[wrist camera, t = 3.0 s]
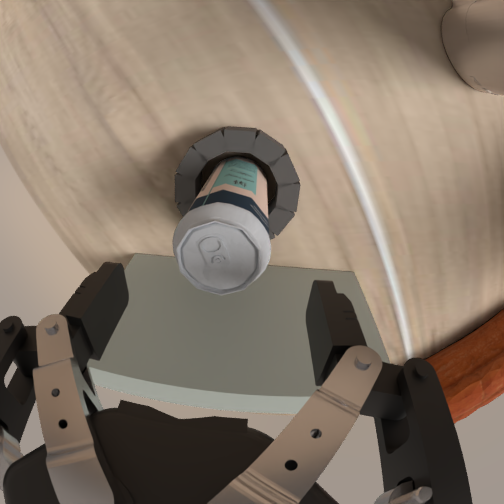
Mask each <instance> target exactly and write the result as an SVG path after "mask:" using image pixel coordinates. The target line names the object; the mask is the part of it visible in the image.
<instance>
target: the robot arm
mask: <svg viewBox="0 0 504 504" xmlns="http://www.w3.org/2000/svg"><path fill="white" fill-rule="evenodd" d="M452 3H453V5H452V8H451V9H450V10H449V11H447V12H446V14H445V15H444V17H443V21H442V38H443V43H444V46H445V50H446V53H447V55H448V57H449V59H450V61H451V63H452V65H453V66H454V68H455V70H456V71H457V73H458V74H459V75H460V76H461V78H462V79H463V80H464V81H465V82H466V83H467V84H468V85H470V86H471V87H473V88H474V89H476V90H478V91H481V92H486V93H491V94H495V95H504V0H452ZM128 301H129V291H128V287H127V282H126V277H125V272H124V268H123V265H122V264H121V263H112V262H105V263H103V265H102V266H101V267H100V269H99V270H98V271H97V272H94V273H92V274H91V275H89V276H88V277H86V278H85V280H84V281H83V282H82V283H81V285H80V287H78V289H77V290H76V291H75V294H73V295H72V296H71V298H70V299H69V301H68V302H67V303H66V305H65V306H64V307H63V309H62V310H61V312H60V313H59V314H53V315H49V316H47V317H45V318H43V319H42V320H41V321H40V322H39V323H38V325H37V326H24V325H23V323H22V321H21V319H20V318H19V317H17V316H10V317H7V318H6V319H4V320H2V321H1V323H0V489H1V490H2V491H3V493H4V498H5V503H6V504H339V503H338V502H337V501H335V500H334V499H333V498H332V497H331V496H330V495H329V494H328V493H327V492H326V491H325V490H324V489H323V488H322V487H321V486H319V484H318V483H317V482H316V480H317V479H318V478H319V476H320V475H321V473H322V472H323V471H324V470H325V468H326V467H327V465H328V464H329V462H330V461H331V460H332V458H333V457H334V455H335V453H336V452H337V451H338V449H339V448H340V446H341V444H342V442H343V441H344V440H345V438H346V436H347V434H348V433H349V431H350V430H351V428H352V427H353V425H354V423H355V422H356V420H357V418H358V416H359V414H361V415H366V416H372V417H374V420H375V426H376V433H377V439H378V445H379V452H380V459H381V467H382V475H383V484H384V493H383V494H381V495H380V496H379V497H378V498H377V499H376V501H375V503H374V504H472V498H471V493H470V487H469V482H468V476H467V472H466V467H465V463H464V459H463V454H462V451H461V447H460V443H459V439H458V436H457V432H456V429H455V426H454V422H453V419H452V416H451V413H450V410H449V407H448V404H447V401H446V398H445V395H444V392H443V390H442V387H441V384H440V381H439V379H438V376H437V374H436V371H435V369H434V367H433V366H432V365H431V364H430V363H429V362H427V361H426V360H424V359H421V358H412V359H409V360H408V361H407V362H406V363H405V364H404V366H399V365H394V364H389V363H386V362H383V361H382V360H381V357H380V356H379V354H378V353H377V352H376V351H374V350H373V349H371V348H369V347H368V346H367V343H366V340H365V337H364V335H363V332H362V329H361V326H360V323H359V321H358V320H357V315H356V313H355V310H354V307H353V305H352V302H351V301H350V300H349V299H348V298H347V296H346V295H345V294H344V293H337V291H336V289H335V286H334V283H333V281H329V280H314V281H313V284H312V288H311V292H310V296H309V300H308V304H307V309H306V327H307V333H308V339H309V345H310V352H311V358H312V364H313V371H314V378H315V385H316V386H321V388H320V389H319V390H318V389H317V390H316V391H315V392H314V393H313V394H312V396H311V397H310V398H309V399H308V401H307V402H306V403H305V404H304V406H303V407H302V408H301V409H300V411H299V412H298V413H297V414H296V416H295V417H294V418H293V419H292V420H291V422H290V423H289V424H288V425H287V426H286V427H285V429H284V430H283V431H282V432H281V433H280V435H279V436H278V437H277V438H276V439H275V440H274V439H273V438H271V437H270V436H268V435H267V434H264V433H262V432H260V431H258V430H256V429H253V428H249V427H247V423H248V419H240V418H227V417H216V416H214V417H204V418H192V419H178V418H175V417H172V416H170V415H168V414H165V413H163V412H161V411H158V410H156V409H154V408H152V407H149V406H145V405H140V404H136V403H132V402H127V401H123V400H121V401H120V404H119V406H118V408H109V409H103V407H102V405H101V403H100V400H99V398H98V395H97V392H96V389H95V385H94V382H93V379H92V376H91V372H90V369H89V366H88V364H87V363H88V361H89V359H93V360H97V361H100V359H101V357H102V355H103V353H104V351H105V349H106V346H107V344H108V342H109V340H110V338H111V336H112V334H113V332H114V330H115V328H116V326H117V324H118V323H119V321H120V319H121V317H122V315H123V313H124V311H125V309H126V307H127V305H128ZM12 361H14V363H15V364H16V366H17V369H16V371H15V373H14V375H13V377H12V379H11V381H10V383H9V385H8V387H7V388H6V387H5V384H4V377H5V374H6V372H7V371H8V369H9V367H10V365H11V363H12ZM35 400H36V401H37V408H38V412H39V418H40V423H41V428H42V433H43V437H44V441H45V444H43V445H41V446H40V447H38V448H37V449H35V450H33V451H32V452H30V453H28V454H26V455H25V456H23V454H22V453H21V452H20V445H19V443H20V440H21V437H22V435H23V432H24V429H25V426H26V423H27V421H28V418H29V416H30V413H31V411H32V408H33V406H34V403H35Z"/></svg>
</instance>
